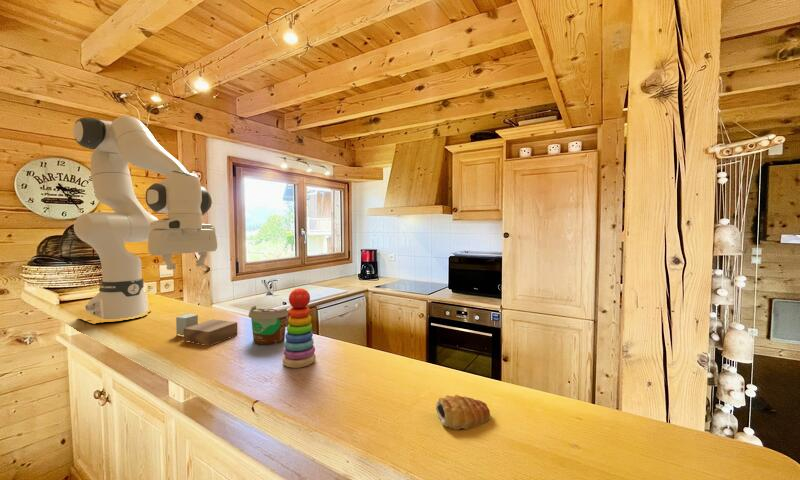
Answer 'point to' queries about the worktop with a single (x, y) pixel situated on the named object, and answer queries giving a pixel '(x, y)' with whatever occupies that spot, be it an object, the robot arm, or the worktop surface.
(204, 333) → the walnut base
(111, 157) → the robot arm
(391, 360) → the worktop surface
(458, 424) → the pastry
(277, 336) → the food container
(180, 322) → the blue-grey block
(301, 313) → the stacking toy
